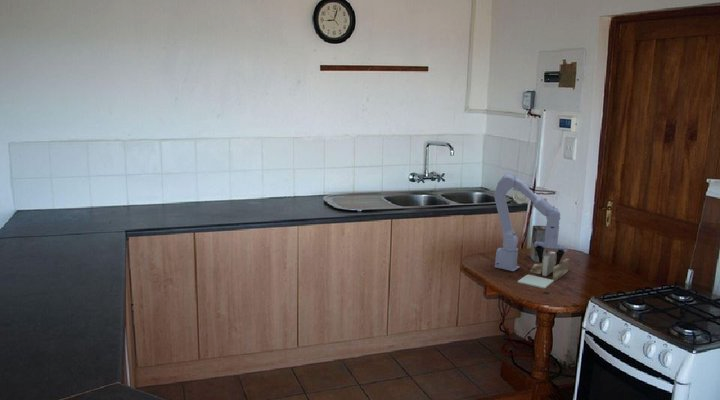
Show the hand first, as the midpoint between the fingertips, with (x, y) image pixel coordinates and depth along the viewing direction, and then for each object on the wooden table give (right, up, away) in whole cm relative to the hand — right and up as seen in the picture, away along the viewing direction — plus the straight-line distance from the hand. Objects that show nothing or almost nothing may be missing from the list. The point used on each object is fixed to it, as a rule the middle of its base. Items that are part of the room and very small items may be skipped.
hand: (548, 263), depth 276 cm
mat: (-9, -7, -12) cm, 17 cm away
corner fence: (0, -4, +1) cm, 4 cm away
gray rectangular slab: (0, -4, +1) cm, 4 cm away
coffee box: (+1, 0, +22) cm, 22 cm away
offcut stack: (-4, -4, +4) cm, 7 cm away
